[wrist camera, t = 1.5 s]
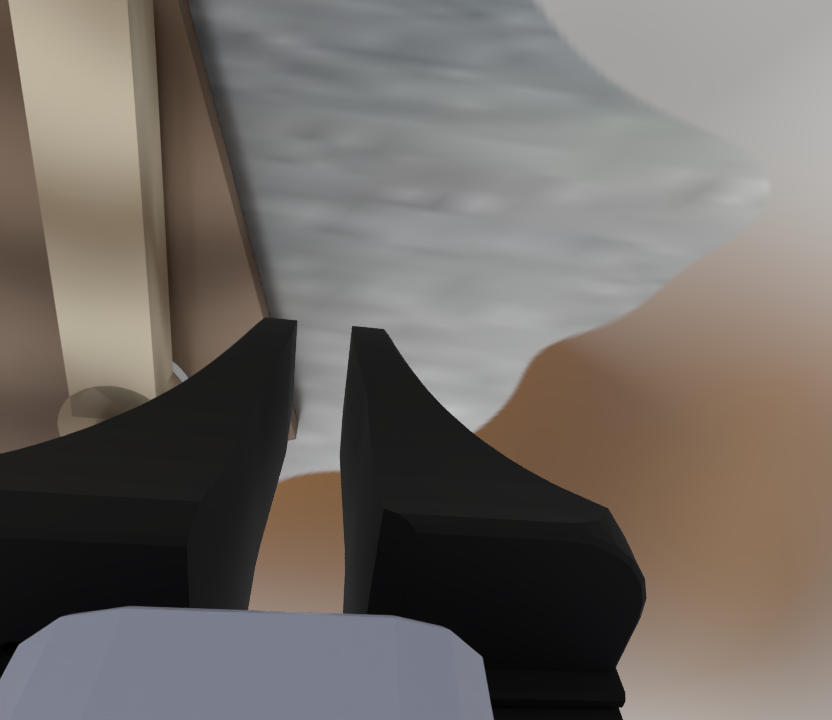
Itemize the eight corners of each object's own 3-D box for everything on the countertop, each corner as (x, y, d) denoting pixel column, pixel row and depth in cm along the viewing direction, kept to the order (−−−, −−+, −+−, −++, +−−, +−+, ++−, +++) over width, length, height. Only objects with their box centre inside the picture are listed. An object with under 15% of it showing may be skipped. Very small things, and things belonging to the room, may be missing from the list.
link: (190, 442, 23) (176, 478, 21) (88, 435, 22) (65, 471, 21) (173, 3, 16) (149, 3, 14) (24, -22, 15) (-20, -25, 14)
